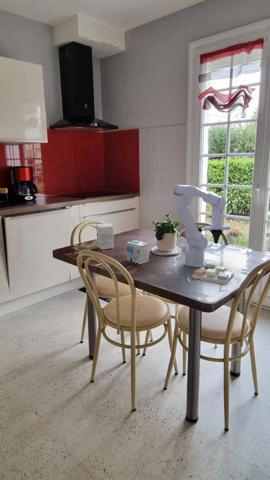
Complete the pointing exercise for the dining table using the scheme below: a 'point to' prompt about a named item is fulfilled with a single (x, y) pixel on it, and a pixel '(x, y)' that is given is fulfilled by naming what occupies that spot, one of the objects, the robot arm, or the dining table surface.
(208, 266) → the grey key
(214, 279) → the light grey tray
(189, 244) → the robot arm
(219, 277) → the slate blue key
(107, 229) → the supplement box
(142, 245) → the light bulb box
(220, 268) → the sage key
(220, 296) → the dining table surface
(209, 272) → the cream key
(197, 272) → the terracotta key
